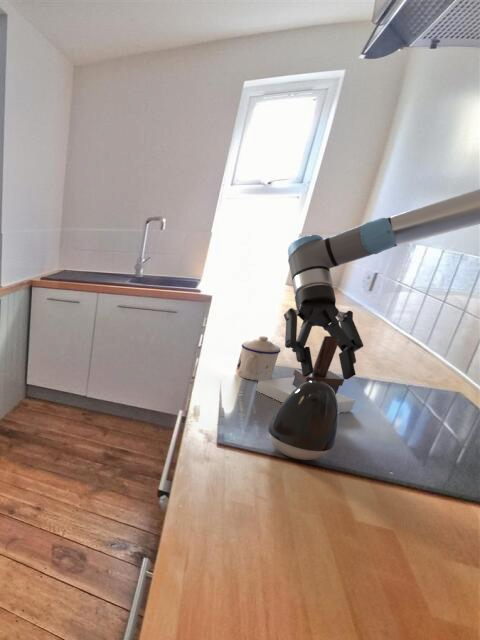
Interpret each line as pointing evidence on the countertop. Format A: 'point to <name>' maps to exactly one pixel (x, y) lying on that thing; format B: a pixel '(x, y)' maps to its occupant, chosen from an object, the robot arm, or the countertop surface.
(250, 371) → the teacup with lid
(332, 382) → the scrub brush
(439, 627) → the countertop surface
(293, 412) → the dark grey egg-shaped speaker
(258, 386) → the white tile
